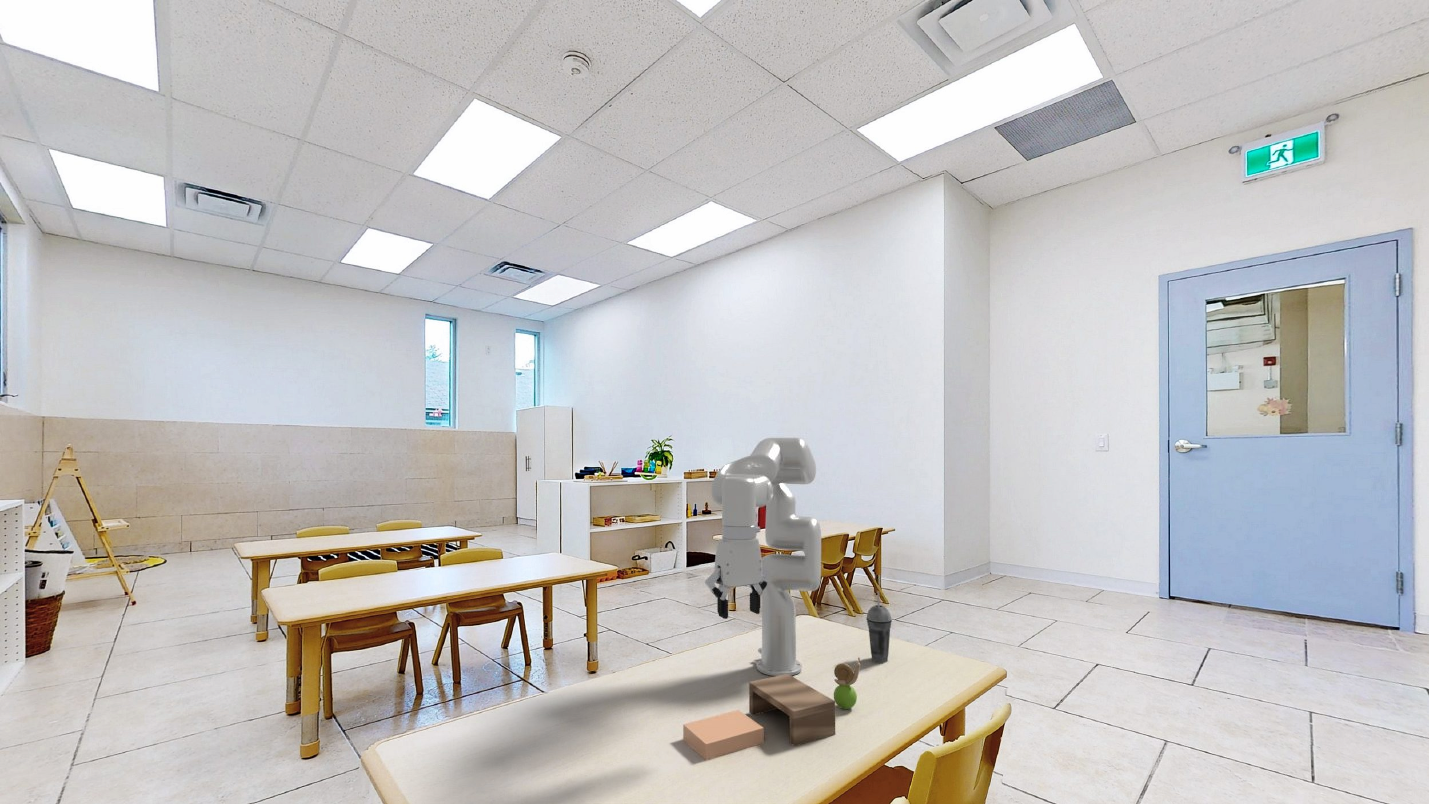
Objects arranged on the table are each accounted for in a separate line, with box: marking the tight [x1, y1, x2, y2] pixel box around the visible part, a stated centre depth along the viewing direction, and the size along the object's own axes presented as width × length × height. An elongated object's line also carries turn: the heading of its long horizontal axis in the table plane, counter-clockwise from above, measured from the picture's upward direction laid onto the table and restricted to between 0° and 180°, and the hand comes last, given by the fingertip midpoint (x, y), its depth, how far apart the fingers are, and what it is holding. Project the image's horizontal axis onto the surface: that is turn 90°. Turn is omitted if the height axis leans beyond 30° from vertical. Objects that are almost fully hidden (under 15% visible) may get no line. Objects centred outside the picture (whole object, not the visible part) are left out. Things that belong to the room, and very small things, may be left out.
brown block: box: [748, 674, 836, 747], centre depth 139 cm, size 18×11×7 cm, turn 28°
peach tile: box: [682, 709, 765, 761], centre depth 131 cm, size 10×14×4 cm
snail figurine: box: [833, 656, 861, 710], centre depth 147 cm, size 5×6×12 cm
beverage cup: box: [866, 590, 893, 664], centre depth 180 cm, size 7×7×20 cm
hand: (739, 614), depth 134 cm, fingers open, 7 cm apart
